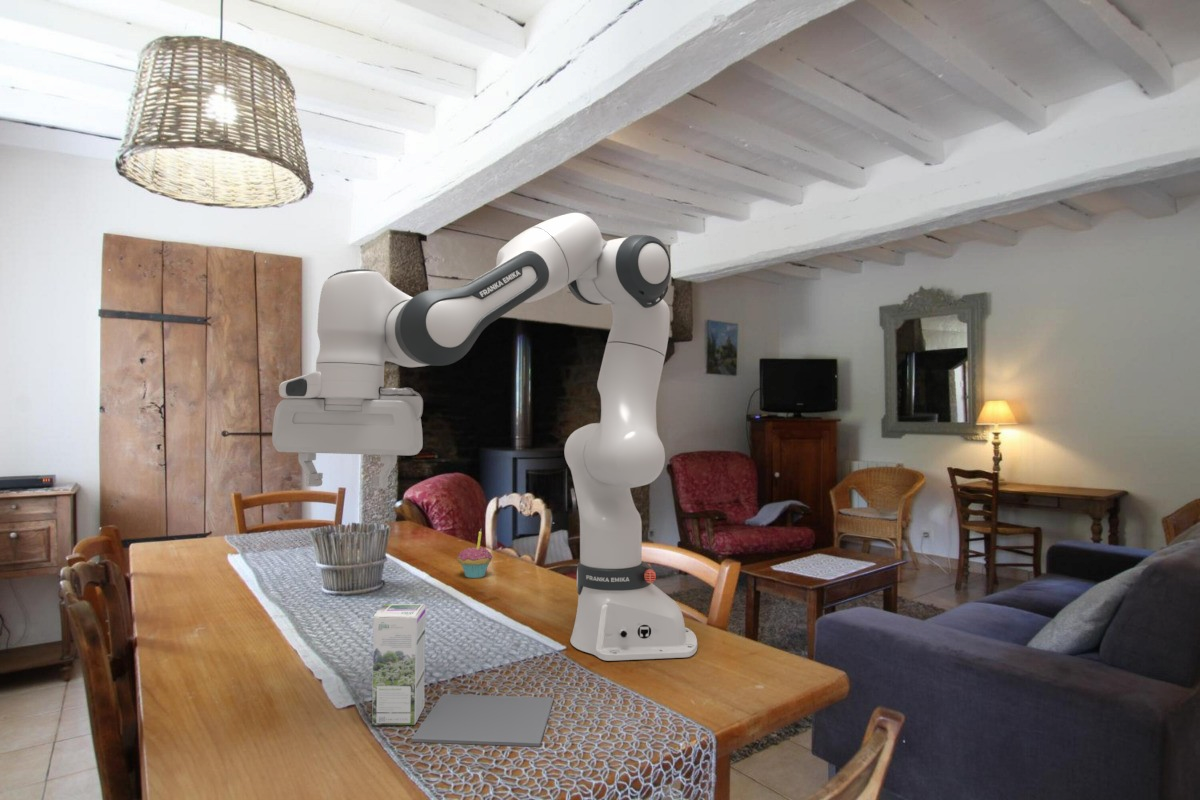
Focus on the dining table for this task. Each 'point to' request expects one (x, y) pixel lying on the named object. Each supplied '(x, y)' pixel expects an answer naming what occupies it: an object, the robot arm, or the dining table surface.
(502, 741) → the felt mat
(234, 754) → the dining table surface
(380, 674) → the syrup box
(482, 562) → the cupcake
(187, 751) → the dining table surface
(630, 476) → the robot arm
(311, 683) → the dining table surface
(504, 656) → the dining table surface
